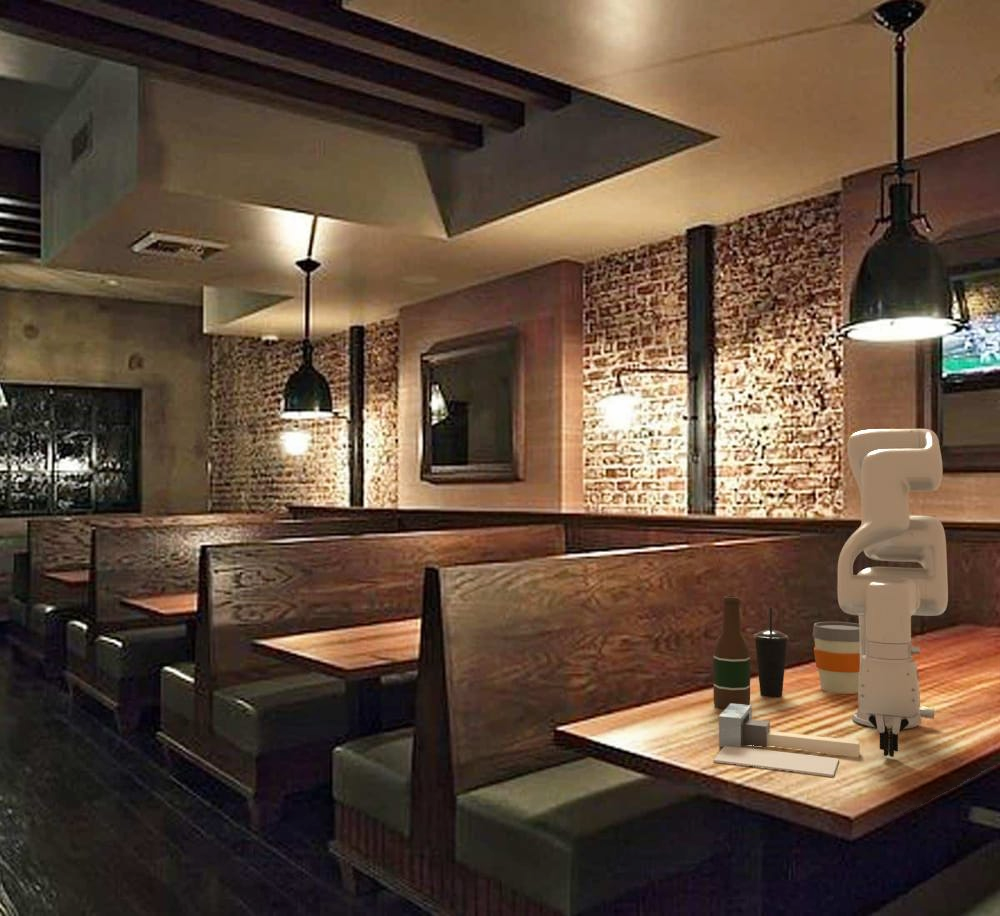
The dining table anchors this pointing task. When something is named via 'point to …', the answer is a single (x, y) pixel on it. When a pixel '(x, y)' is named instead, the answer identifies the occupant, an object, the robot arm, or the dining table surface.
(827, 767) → the mat
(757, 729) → the cream rectangular bar
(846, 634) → the reusable coffee cup
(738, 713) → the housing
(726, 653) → the beer bottle
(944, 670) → the dining table surface
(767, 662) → the drinking cup
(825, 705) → the dining table surface
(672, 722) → the dining table surface
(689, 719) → the dining table surface
